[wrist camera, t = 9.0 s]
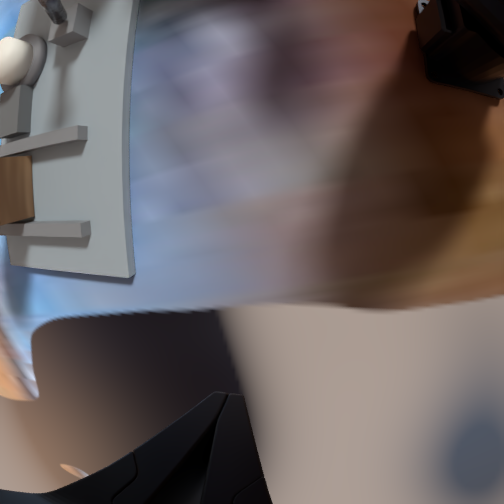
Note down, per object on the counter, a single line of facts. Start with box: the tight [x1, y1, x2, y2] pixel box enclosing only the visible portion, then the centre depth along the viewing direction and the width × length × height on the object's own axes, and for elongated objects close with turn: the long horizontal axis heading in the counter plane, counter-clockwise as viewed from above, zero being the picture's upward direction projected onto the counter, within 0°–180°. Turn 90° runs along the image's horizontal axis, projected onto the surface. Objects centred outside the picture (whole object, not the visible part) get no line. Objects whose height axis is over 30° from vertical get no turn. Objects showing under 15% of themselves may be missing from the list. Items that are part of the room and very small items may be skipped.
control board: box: [0, 0, 140, 278], centre depth 18 cm, size 14×26×4 cm, turn 0°
